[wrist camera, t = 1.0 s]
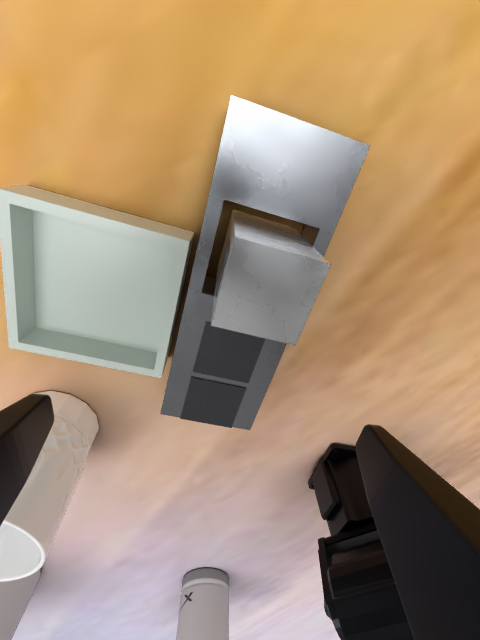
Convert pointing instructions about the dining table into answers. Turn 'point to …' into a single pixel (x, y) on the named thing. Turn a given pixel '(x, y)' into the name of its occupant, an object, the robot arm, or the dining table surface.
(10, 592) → the cylinder vase
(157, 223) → the parts tray
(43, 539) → the white cup
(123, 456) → the dining table surface
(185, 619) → the travel mug
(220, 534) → the dining table surface
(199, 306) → the rail
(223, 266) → the brushed aluminium bar
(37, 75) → the dining table surface
